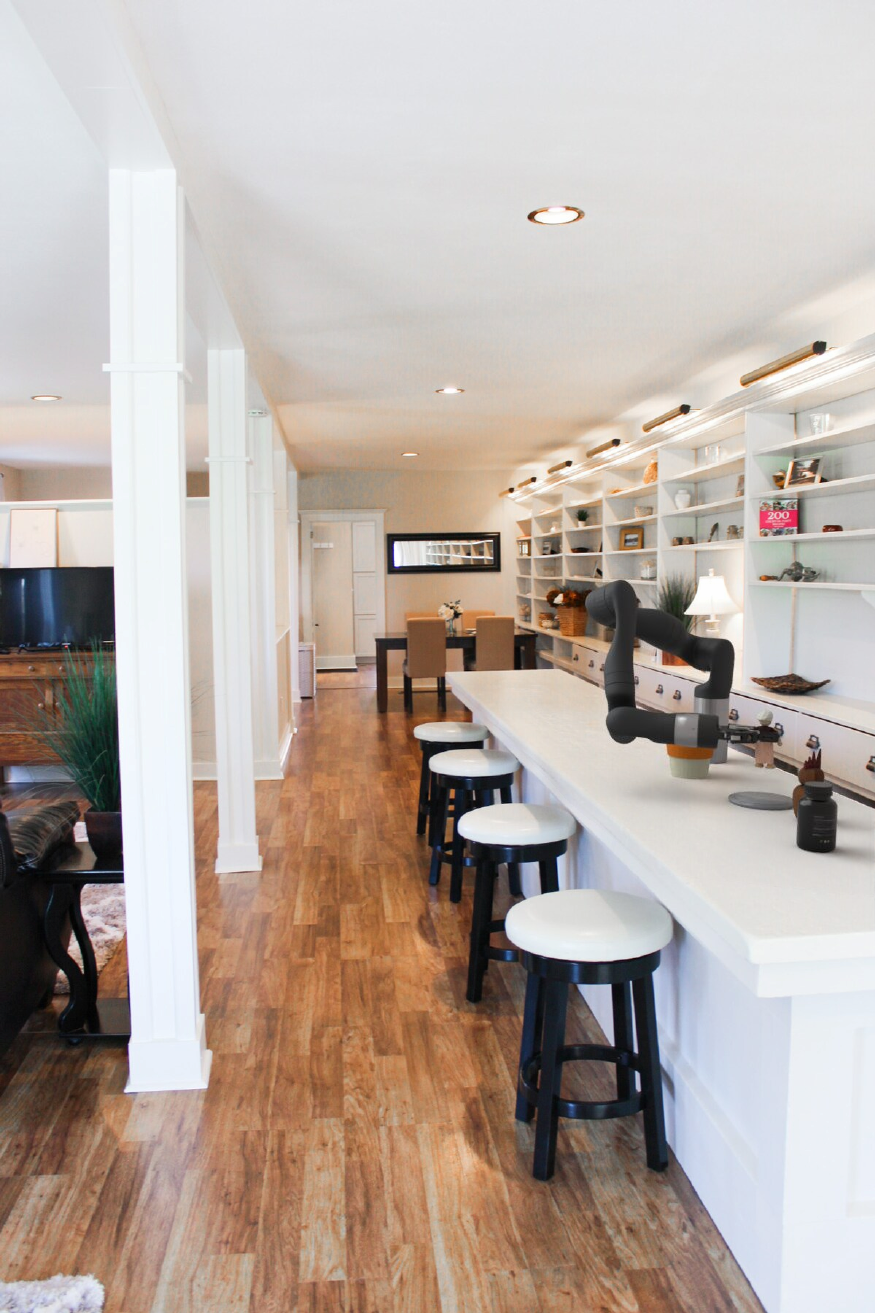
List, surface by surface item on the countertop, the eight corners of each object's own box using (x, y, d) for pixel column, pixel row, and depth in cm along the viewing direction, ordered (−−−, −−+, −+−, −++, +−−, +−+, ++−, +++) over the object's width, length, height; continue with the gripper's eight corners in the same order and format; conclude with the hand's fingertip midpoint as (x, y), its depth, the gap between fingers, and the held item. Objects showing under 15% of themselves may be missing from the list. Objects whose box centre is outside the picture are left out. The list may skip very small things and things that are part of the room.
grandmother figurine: (780, 766, 208) (783, 710, 207) (781, 770, 204) (784, 712, 203) (743, 763, 210) (747, 707, 209) (743, 767, 206) (747, 709, 205)
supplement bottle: (789, 843, 176) (792, 780, 175) (824, 842, 176) (827, 779, 175) (806, 854, 169) (809, 788, 168) (843, 853, 169) (846, 788, 168)
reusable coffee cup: (659, 777, 232) (661, 717, 231) (667, 768, 244) (669, 711, 242) (712, 782, 227) (714, 721, 226) (717, 772, 239) (719, 714, 238)
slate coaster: (729, 792, 216) (729, 789, 216) (794, 798, 212) (794, 794, 212) (728, 806, 203) (728, 802, 203) (797, 812, 199) (797, 808, 199)
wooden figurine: (822, 818, 194) (825, 746, 193) (831, 826, 188) (834, 752, 187) (788, 817, 195) (791, 746, 193) (796, 824, 189) (799, 751, 188)
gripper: (695, 718, 204) (780, 724, 198) (699, 710, 217) (778, 715, 212) (693, 752, 204) (778, 759, 199) (697, 742, 218) (776, 748, 212)
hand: (778, 736), depth 205 cm, fingers closed on grandmother figurine, 2 cm apart
